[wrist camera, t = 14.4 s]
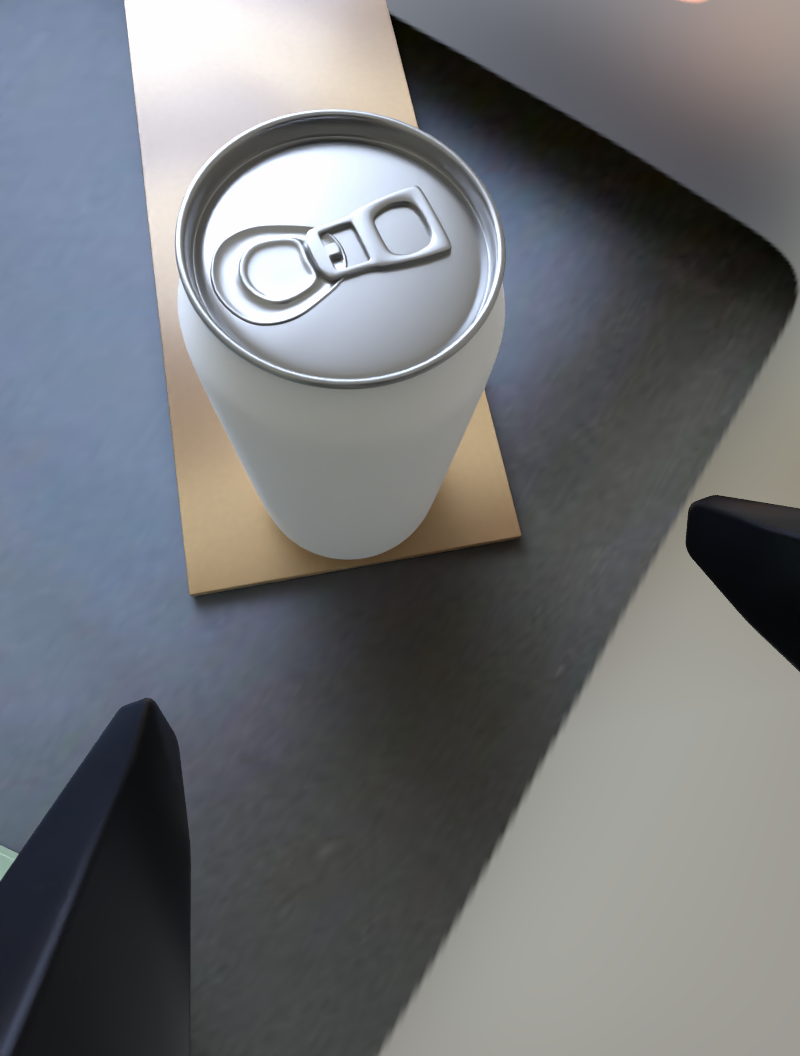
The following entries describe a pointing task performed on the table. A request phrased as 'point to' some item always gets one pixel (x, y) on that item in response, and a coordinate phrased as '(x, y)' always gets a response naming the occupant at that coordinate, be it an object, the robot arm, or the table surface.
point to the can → (341, 317)
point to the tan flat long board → (169, 168)
